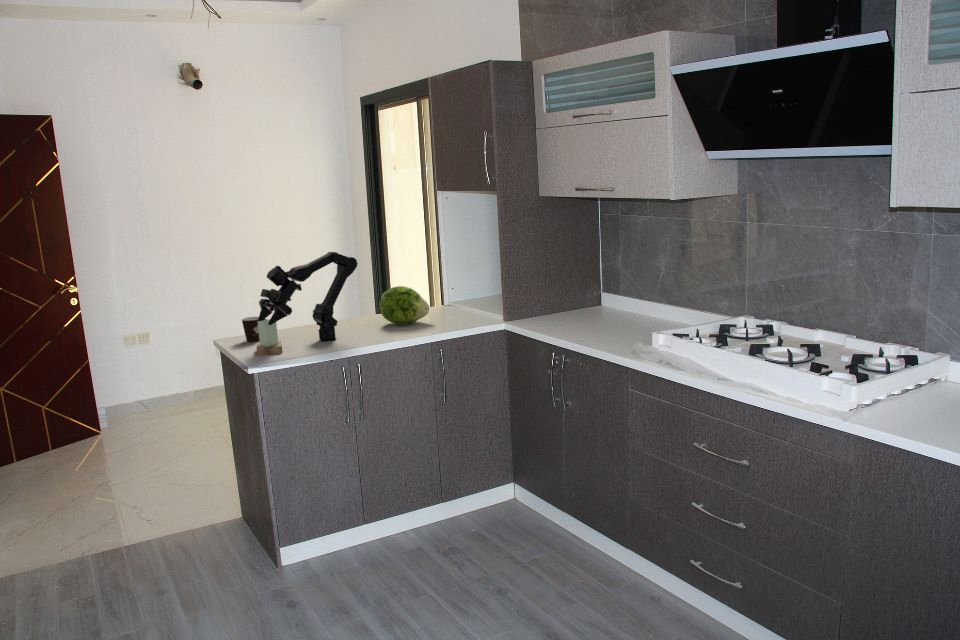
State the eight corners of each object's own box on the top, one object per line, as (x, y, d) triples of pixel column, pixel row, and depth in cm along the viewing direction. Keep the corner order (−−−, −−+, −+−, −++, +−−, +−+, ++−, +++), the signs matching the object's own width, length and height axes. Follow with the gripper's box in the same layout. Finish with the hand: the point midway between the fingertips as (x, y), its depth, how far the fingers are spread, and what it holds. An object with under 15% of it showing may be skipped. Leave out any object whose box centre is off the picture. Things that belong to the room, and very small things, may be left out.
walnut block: (281, 349, 336) (281, 341, 336) (282, 354, 327) (281, 346, 326) (257, 351, 334) (256, 343, 333) (257, 357, 324) (256, 348, 324)
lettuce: (424, 329, 364) (428, 289, 362) (374, 323, 366) (378, 284, 365) (431, 326, 383) (435, 288, 382) (383, 320, 385) (387, 283, 384)
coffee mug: (245, 343, 349) (243, 321, 347) (242, 340, 356) (240, 318, 354) (272, 340, 353) (270, 318, 351) (269, 336, 361) (267, 315, 359)
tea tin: (272, 342, 334) (269, 319, 332) (278, 344, 330) (275, 320, 328) (260, 345, 330) (257, 321, 328) (266, 346, 326) (263, 322, 324)
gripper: (260, 279, 334) (238, 309, 329) (282, 283, 320) (260, 314, 315) (279, 295, 341) (258, 324, 336) (301, 299, 327) (280, 330, 322)
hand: (263, 323), depth 327 cm, fingers open, 9 cm apart
